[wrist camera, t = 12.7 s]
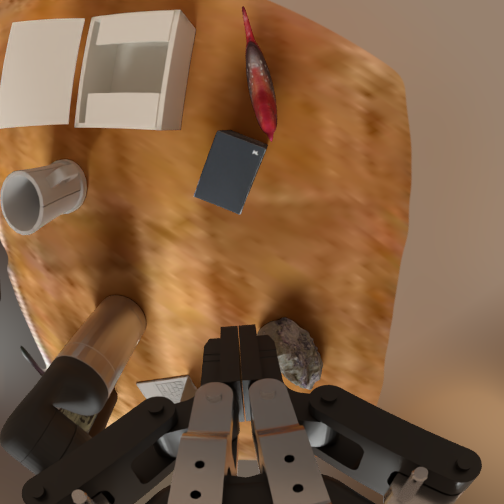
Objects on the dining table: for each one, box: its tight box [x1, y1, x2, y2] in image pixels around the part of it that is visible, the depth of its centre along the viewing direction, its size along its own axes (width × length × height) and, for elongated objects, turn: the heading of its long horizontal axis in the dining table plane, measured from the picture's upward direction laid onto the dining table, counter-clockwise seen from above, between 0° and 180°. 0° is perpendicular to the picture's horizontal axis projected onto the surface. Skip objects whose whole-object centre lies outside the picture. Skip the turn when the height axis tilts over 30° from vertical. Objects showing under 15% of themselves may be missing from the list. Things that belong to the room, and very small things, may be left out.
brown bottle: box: [59, 389, 117, 438], centre depth 50 cm, size 11×11×25 cm
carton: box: [74, 10, 196, 130], centre depth 35 cm, size 12×15×9 cm
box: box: [194, 130, 268, 214], centre depth 38 cm, size 8×6×11 cm
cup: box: [0, 159, 87, 235], centre depth 39 cm, size 10×9×12 cm
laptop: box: [136, 375, 197, 404], centre depth 55 cm, size 18×12×13 cm
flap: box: [0, 18, 85, 128], centre depth 28 cm, size 1×14×10 cm
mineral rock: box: [257, 317, 323, 389], centre depth 49 cm, size 13×11×10 cm
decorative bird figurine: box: [242, 7, 277, 142], centre depth 34 cm, size 3×18×10 cm, turn 11°
